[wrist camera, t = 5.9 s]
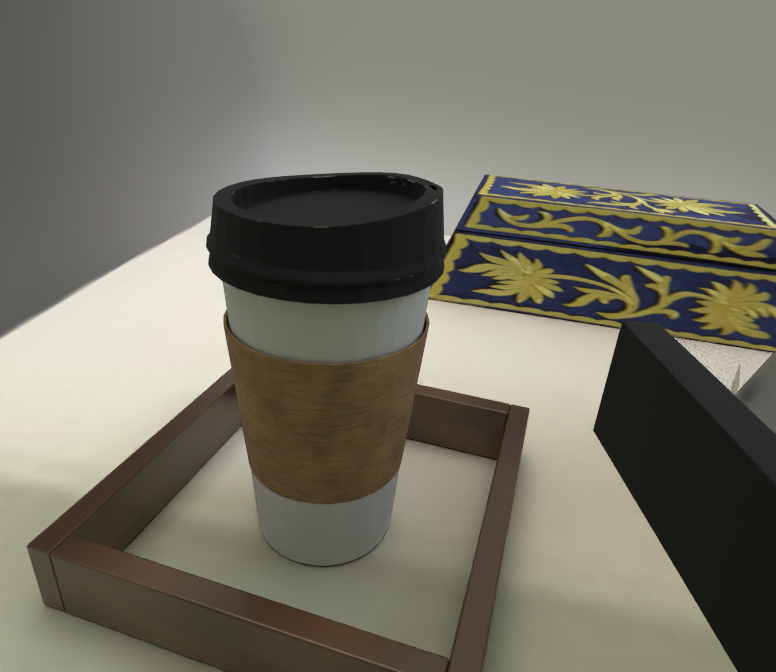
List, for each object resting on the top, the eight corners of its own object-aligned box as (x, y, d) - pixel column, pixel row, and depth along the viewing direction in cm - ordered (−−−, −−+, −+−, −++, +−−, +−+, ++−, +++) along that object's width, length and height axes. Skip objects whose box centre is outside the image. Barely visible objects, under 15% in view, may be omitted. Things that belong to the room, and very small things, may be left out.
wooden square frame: (520, 454, 32) (529, 407, 30) (464, 759, 18) (476, 699, 17) (255, 392, 36) (253, 348, 34) (43, 604, 22) (25, 545, 21)
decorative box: (439, 258, 60) (448, 168, 56) (761, 303, 54) (798, 206, 50) (417, 297, 50) (426, 192, 46) (805, 357, 44) (854, 242, 40)
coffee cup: (435, 584, 24) (483, 221, 17) (219, 600, 23) (180, 215, 16) (401, 453, 31) (426, 164, 24) (238, 460, 30) (216, 157, 23)
